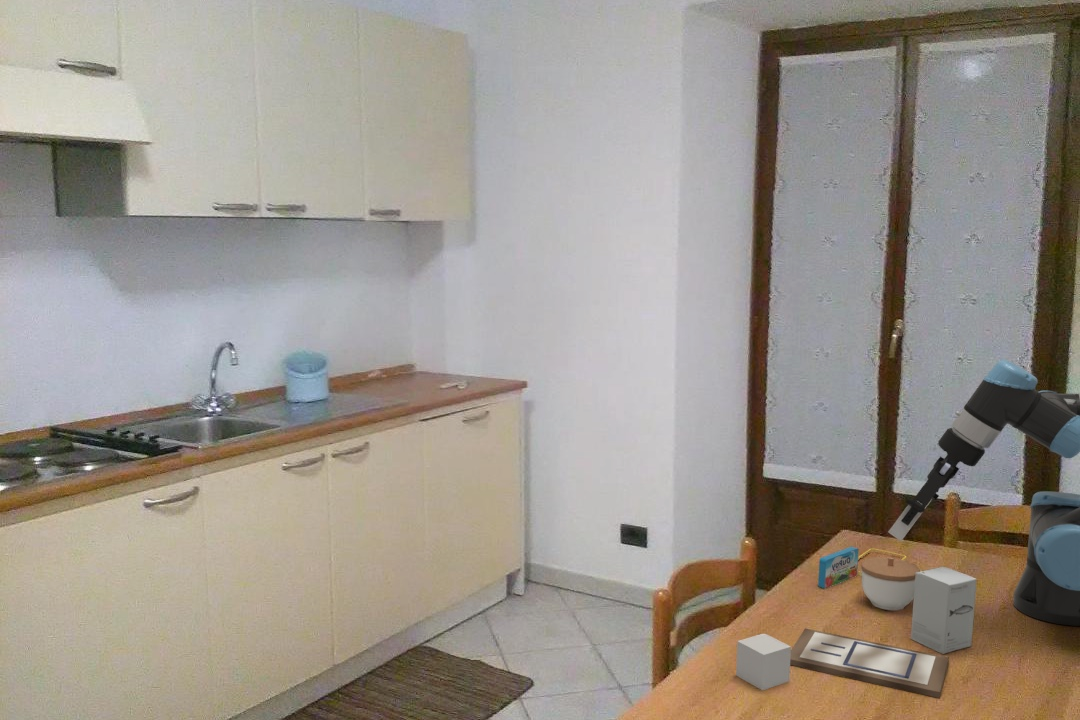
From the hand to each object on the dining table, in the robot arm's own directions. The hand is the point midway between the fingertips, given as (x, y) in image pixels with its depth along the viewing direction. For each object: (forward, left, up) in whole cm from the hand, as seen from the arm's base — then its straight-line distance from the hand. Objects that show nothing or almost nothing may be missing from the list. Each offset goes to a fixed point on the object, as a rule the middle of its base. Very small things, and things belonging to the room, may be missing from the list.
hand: (900, 528), depth 183 cm
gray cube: (+15, +40, -17) cm, 46 cm away
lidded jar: (+2, -3, -17) cm, 17 cm away
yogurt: (+13, -11, -17) cm, 23 cm away
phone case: (+8, -25, -17) cm, 31 cm away
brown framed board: (+1, +26, -16) cm, 31 cm away
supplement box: (-9, +11, -17) cm, 22 cm away
